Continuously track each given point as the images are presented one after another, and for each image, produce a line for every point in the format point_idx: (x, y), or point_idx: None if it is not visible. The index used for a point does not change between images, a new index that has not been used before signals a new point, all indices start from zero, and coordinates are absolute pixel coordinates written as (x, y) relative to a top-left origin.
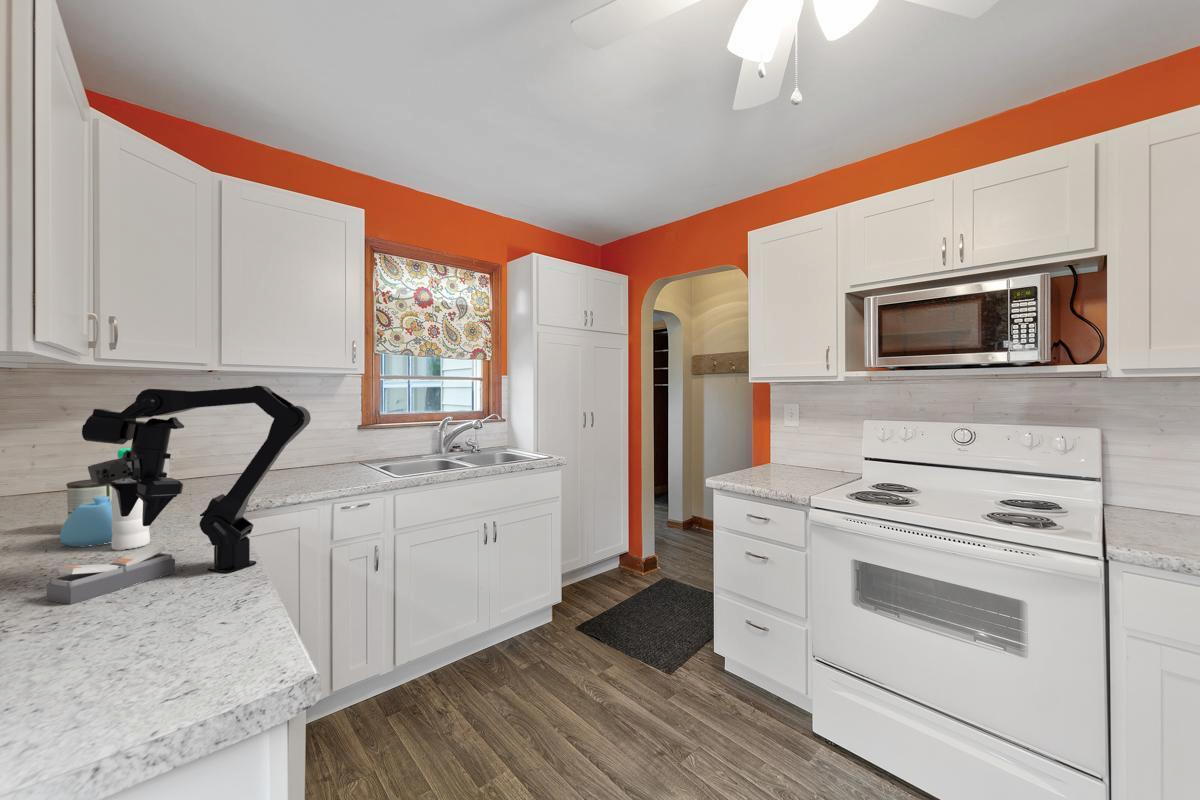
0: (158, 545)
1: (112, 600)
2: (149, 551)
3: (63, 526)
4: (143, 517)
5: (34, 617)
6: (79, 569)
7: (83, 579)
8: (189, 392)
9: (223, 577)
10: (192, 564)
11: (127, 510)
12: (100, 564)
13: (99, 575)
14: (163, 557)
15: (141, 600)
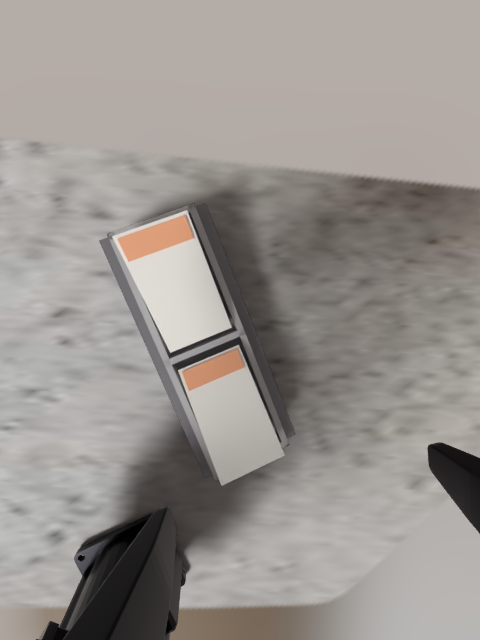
0: (244, 471)
1: (70, 319)
2: (213, 440)
3: None
4: (128, 566)
5: (74, 185)
6: (121, 254)
7: (122, 267)
8: None
9: (52, 534)
10: (252, 490)
11: (462, 494)
12: (217, 315)
13: (139, 304)
14: (206, 457)
15: (7, 366)
